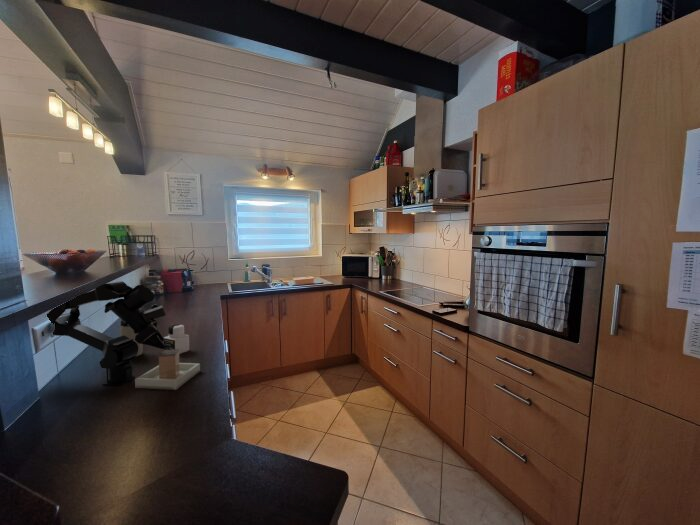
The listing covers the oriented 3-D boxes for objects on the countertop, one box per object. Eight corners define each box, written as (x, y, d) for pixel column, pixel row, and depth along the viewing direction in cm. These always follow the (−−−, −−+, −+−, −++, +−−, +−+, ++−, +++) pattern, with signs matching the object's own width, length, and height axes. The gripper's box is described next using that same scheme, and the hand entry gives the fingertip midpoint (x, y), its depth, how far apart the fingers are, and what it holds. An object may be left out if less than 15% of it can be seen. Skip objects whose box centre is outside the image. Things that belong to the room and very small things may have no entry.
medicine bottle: (163, 353, 126) (162, 326, 125) (178, 348, 133) (178, 322, 132) (174, 355, 123) (174, 328, 123) (189, 350, 130) (189, 324, 129)
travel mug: (132, 359, 119) (135, 315, 118) (113, 357, 119) (116, 314, 118) (146, 352, 126) (149, 312, 126) (128, 351, 127) (131, 310, 126)
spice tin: (159, 380, 99) (158, 355, 99) (163, 374, 104) (163, 350, 104) (175, 379, 101) (175, 353, 100) (179, 373, 106) (179, 348, 105)
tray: (135, 387, 96) (135, 379, 96) (164, 369, 110) (164, 362, 110) (176, 389, 95) (176, 380, 95) (200, 371, 109) (199, 363, 109)
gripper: (152, 302, 95) (185, 334, 101) (152, 294, 111) (181, 322, 117) (118, 326, 91) (156, 359, 97) (123, 314, 106) (155, 343, 112)
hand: (163, 344), depth 106 cm, fingers open, 9 cm apart
